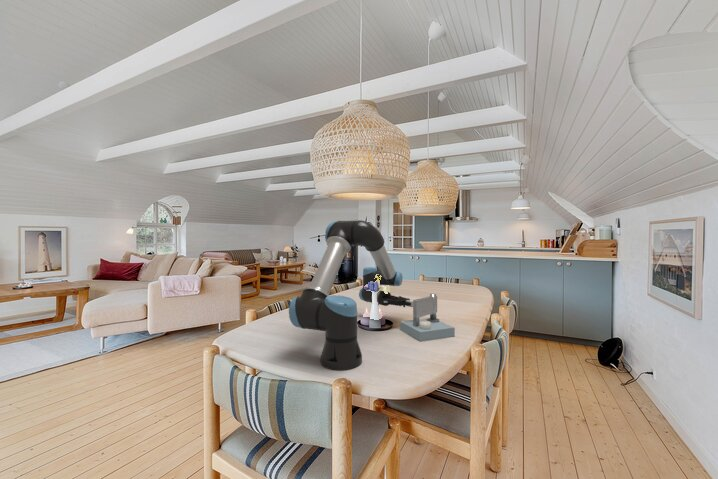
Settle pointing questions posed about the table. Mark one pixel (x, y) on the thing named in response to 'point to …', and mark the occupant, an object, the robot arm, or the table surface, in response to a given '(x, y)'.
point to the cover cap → (425, 324)
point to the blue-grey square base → (427, 330)
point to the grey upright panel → (424, 308)
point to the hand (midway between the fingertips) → (417, 305)
